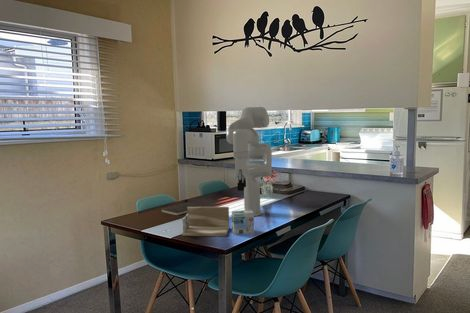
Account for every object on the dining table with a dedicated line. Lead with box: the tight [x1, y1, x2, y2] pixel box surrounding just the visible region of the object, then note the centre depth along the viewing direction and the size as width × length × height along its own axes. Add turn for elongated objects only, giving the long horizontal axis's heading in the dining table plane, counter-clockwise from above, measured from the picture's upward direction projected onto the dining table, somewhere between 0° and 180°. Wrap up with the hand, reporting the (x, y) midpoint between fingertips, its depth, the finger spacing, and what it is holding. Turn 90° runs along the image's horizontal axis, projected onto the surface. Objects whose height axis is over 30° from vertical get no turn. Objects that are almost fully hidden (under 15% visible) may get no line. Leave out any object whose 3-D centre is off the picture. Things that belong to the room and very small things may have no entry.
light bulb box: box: [231, 209, 255, 236], centre depth 209 cm, size 11×7×11 cm, turn 101°
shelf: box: [181, 206, 230, 237], centre depth 212 cm, size 14×22×12 cm, turn 83°
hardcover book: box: [160, 202, 206, 216], centre depth 262 cm, size 16×23×2 cm
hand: (241, 188), depth 208 cm, fingers open, 9 cm apart
